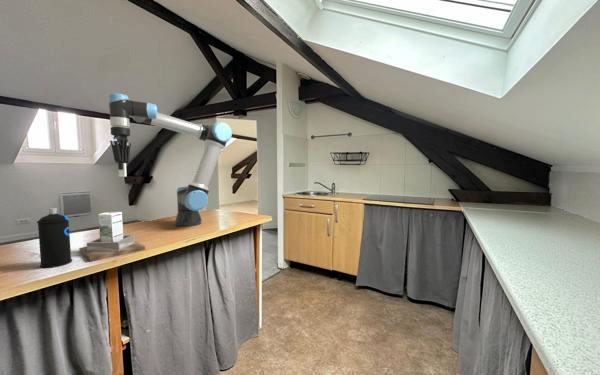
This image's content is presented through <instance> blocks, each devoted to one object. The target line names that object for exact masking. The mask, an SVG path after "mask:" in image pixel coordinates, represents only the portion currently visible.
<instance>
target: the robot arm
mask: <svg viewBox="0 0 600 375" xmlns="http://www.w3.org/2000/svg"><path fill="white" fill-rule="evenodd" d="M108 107H109V122H110V126H111V127H110V135H111V136H113V140H110V141H109V143H110V145H111V149H112V154H113V159H114V162H115V163H116V164H118V165H117V166H118V178H119V177H127V175H128V174H127V164H129V162H130V152H131V147H132V143H131V142H129V139H128V137H130V136H131V129H130V126H131V125H130V117H131V118H132V119H133V121H134V122H136V123H140V124H141V123H144V124H147V125H148V124H149V125H152V126H156V127H159V128H163V129H166V130H170V131H173V132H177V133H181V134H184V135H188V136H192V137H195V138H196V139H197V140H199V141H200V140H201V141H203V142H205V143H206V145H205V148H204V150H203V154H202V155H201V156H202V157H201V159H200V161H199V163H198V167H197V170H196V172H195V175H194V177H193V180H192V182H190V183H188V185H187V186H181V187H178V188H177V190H176V199H177V200H176V201H177V214H176V217H175V219H174V226H177V227H193V225H194V226H198V225H201V224H202V223H201V222H203V221H202V217H201V215H200V212H199V211H201V210H203V209H204V208H206V206H207V205H208V202H209V198H208V196H209V195H208V194H209V192H210V188H209V184H210V181H211V179H212V177H213V173H214V171H215V168H216V165H217V163H218V159H219V156H220V154H221V151H222V150H224V149H225V148H226V145H227V142H229V141H230V140H231V139H232V135H233V132H232V131H233V130H232V129H231V127H230V126H229V125H228V123H226V122H224V121H223V122H222V121H216V122H214V123H212V124H209V125H207V124H202V123H199V124H198V123H197V124H196V123H195V122H194V123H193V122H190V121H187V120H184V119H181V118H178V117H174V116H172V115H171V116H170V115H168V114H164V113H161V112H158V107H157V104H155V103H150V102H144V101H137V100H136V101H135V100H131V99H129V96H128V95H126V94H123V93H120V92H119V93H118V92H113V93H109V95H108ZM200 223H201V224H200ZM197 224H198V225H197Z"/></svg>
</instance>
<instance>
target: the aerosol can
mask: <svg viewBox="0 0 600 375" xmlns="http://www.w3.org/2000/svg"><path fill="white" fill-rule="evenodd" d="M48 213H49V214H47V215H44V216H42V217H41V218H40V219H39V220H37V221H36V223H37V227H38V228H37V229H38V230H37V231H38V241H39V242H38V243H39V254H40V255H39V256H40V265H39V267H40V268H42V269H51V268H58V267H61V266H65V265H69V264H70V263H71V262H73V258H72V252H71V236H70V218H69V217H68V216H66V215H64V214H59V213H58V209H57V207H51V208H48Z"/></svg>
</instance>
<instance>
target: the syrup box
mask: <svg viewBox="0 0 600 375" xmlns="http://www.w3.org/2000/svg"><path fill="white" fill-rule="evenodd" d="M98 226H99V238H100V242H118V241H120V240H122V239H123V235H124V227H123V226H124V225H123V212H122V211H106V212H102V213H98Z"/></svg>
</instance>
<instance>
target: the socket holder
mask: <svg viewBox="0 0 600 375" xmlns="http://www.w3.org/2000/svg"><path fill="white" fill-rule="evenodd" d="M135 235H136V234H123V239H122V240H120V241H118V242H100V237H99V238H96V239H94V240H92V241H89V242H86V246H83V247H79V248H78V251H79V253H80V254H81V255H83V257H84V258H86V259H87V260H88V261H89V262H90V263H91V262H96V261H100V260H104V259H109V258H114V257H117V256H123V255H127V254H133V253H135V252H136V253H137V252H141V251H144V250H146V246H145V245H144V244H142V243H141V242H140V243H139V242H138V241H136V239H135V238H136V237H135Z"/></svg>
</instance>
